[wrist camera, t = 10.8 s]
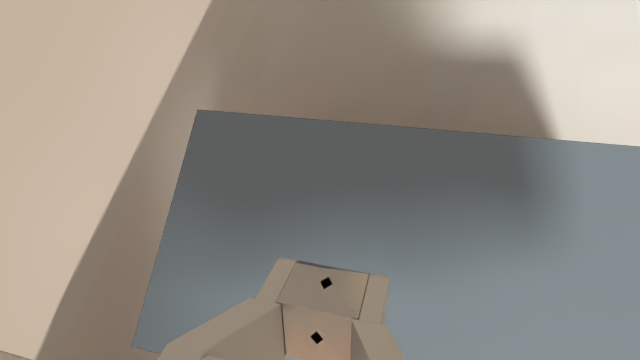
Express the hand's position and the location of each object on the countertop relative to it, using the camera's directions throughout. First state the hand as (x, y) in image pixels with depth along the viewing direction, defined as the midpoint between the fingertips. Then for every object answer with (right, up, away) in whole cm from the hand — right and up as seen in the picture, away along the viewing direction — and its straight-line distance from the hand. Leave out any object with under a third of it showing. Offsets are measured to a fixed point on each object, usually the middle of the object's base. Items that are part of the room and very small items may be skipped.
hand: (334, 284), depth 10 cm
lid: (+2, 0, +6) cm, 6 cm away
